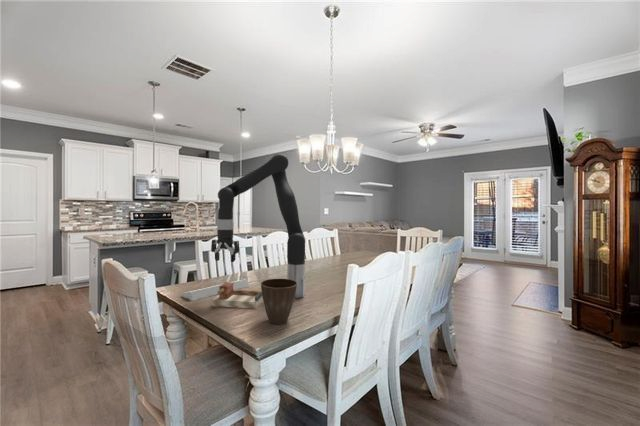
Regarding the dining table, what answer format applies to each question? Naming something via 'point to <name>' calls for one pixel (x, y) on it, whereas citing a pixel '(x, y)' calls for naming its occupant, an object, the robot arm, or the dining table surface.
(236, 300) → the board
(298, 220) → the robot arm
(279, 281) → the plant pot
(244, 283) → the decorative molding
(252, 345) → the dining table surface
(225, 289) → the reddish-brown block with stick
